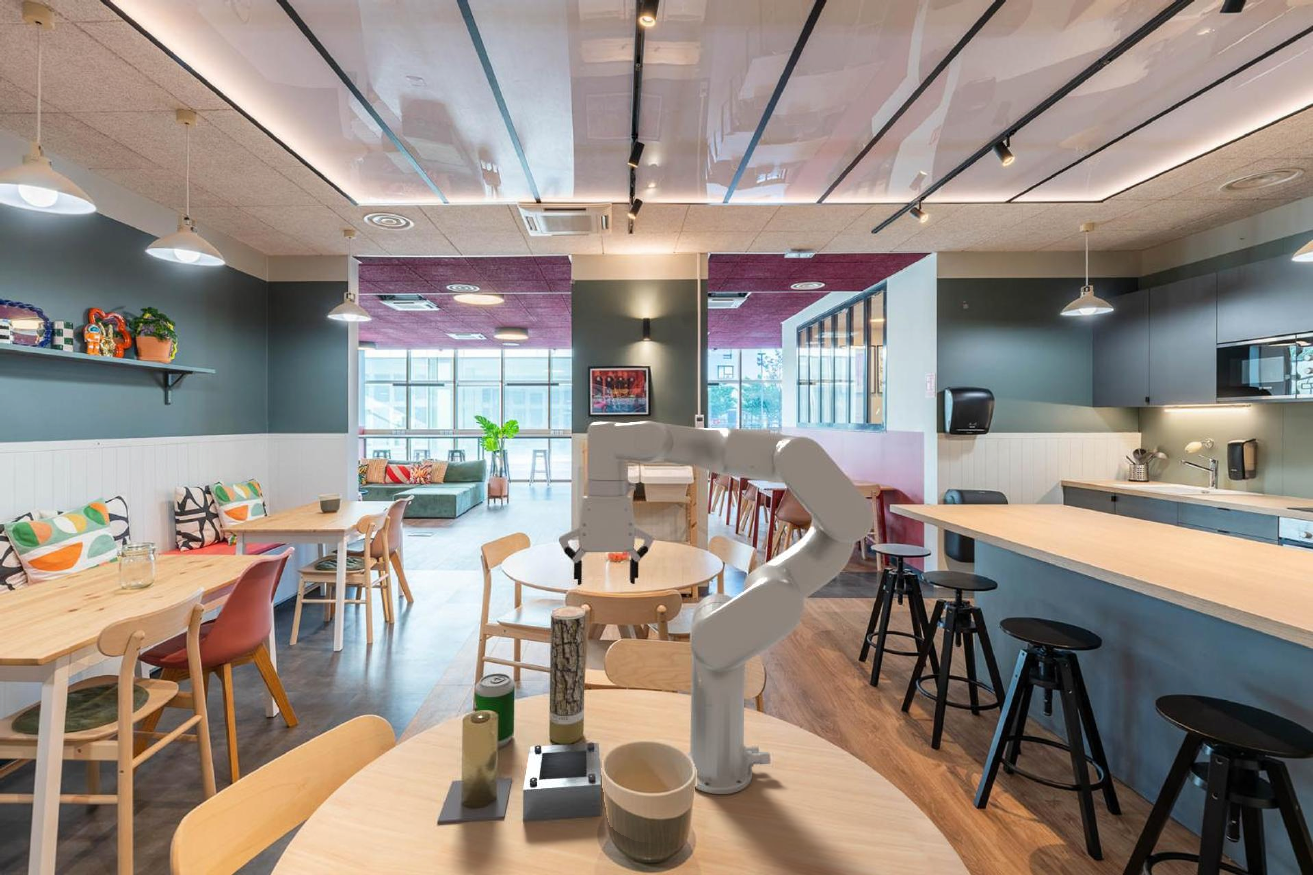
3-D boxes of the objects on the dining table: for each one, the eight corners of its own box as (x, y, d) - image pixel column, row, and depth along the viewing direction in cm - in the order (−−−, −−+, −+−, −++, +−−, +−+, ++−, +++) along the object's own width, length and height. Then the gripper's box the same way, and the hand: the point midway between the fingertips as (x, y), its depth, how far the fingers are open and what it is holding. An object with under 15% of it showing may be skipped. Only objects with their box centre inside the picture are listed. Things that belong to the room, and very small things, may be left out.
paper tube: (576, 747, 107) (578, 618, 107) (543, 743, 109) (545, 615, 108) (588, 729, 114) (589, 607, 114) (556, 725, 115) (558, 605, 115)
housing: (598, 770, 100) (598, 739, 100) (600, 815, 88) (600, 780, 88) (530, 774, 99) (530, 743, 99) (522, 821, 87) (523, 785, 87)
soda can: (522, 737, 111) (523, 677, 111) (492, 755, 104) (493, 691, 104) (495, 726, 115) (496, 668, 115) (465, 743, 108) (466, 681, 108)
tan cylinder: (499, 785, 95) (500, 706, 95) (494, 807, 89) (495, 723, 89) (465, 787, 94) (466, 708, 94) (457, 809, 88) (459, 725, 88)
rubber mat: (512, 779, 97) (512, 777, 97) (504, 818, 87) (504, 815, 87) (452, 783, 96) (452, 780, 96) (437, 823, 86) (437, 820, 86)
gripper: (651, 487, 107) (650, 576, 107) (560, 487, 105) (559, 578, 105) (656, 491, 99) (655, 587, 100) (558, 491, 97) (557, 589, 97)
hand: (606, 582), depth 102 cm, fingers open, 9 cm apart
